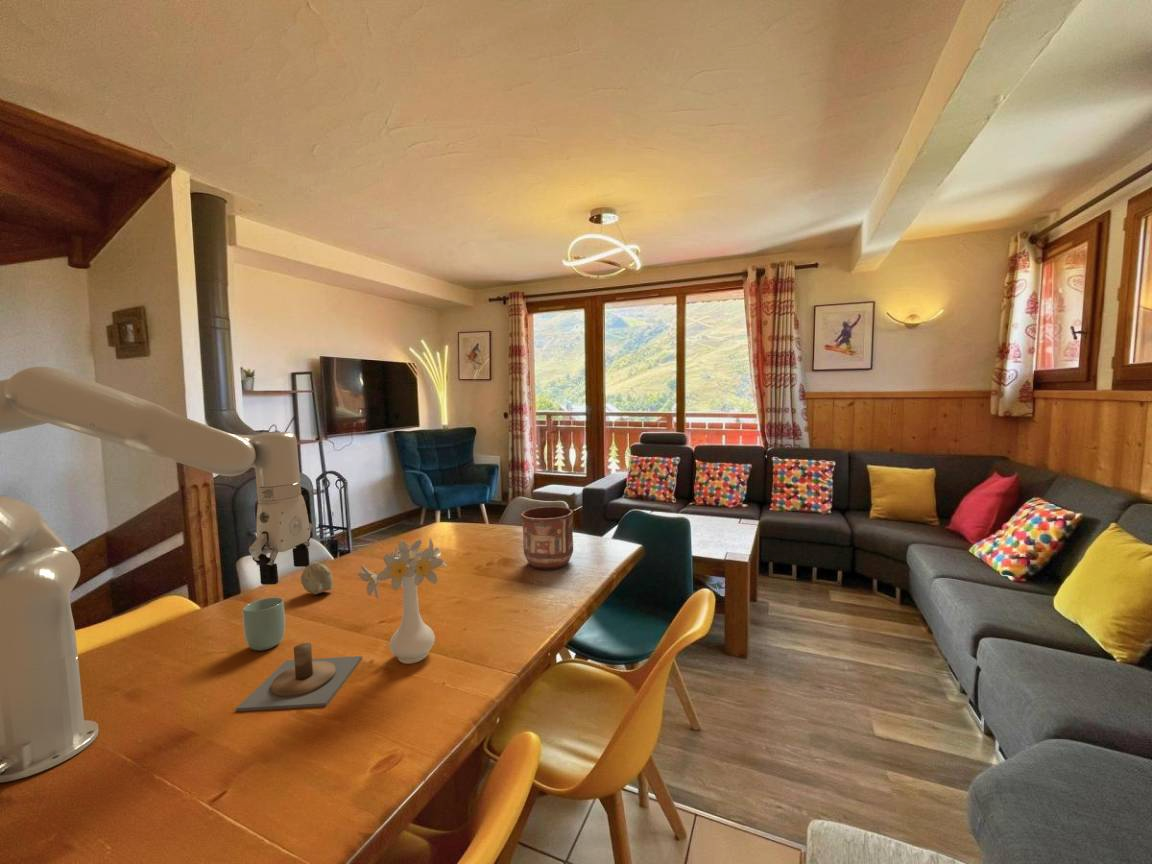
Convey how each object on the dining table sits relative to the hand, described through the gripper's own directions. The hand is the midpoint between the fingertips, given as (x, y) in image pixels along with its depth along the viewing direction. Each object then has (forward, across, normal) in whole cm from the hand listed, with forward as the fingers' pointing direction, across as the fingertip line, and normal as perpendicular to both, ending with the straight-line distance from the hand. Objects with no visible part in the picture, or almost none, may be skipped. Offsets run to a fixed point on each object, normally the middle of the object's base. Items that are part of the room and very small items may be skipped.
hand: (286, 574), depth 96 cm
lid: (+20, -4, -5) cm, 21 cm away
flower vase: (+21, +5, -23) cm, 32 cm away
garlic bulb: (+21, +39, +20) cm, 49 cm away
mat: (+20, -4, -5) cm, 22 cm away
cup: (+21, +10, +14) cm, 27 cm away
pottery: (+22, +63, -46) cm, 81 cm away
